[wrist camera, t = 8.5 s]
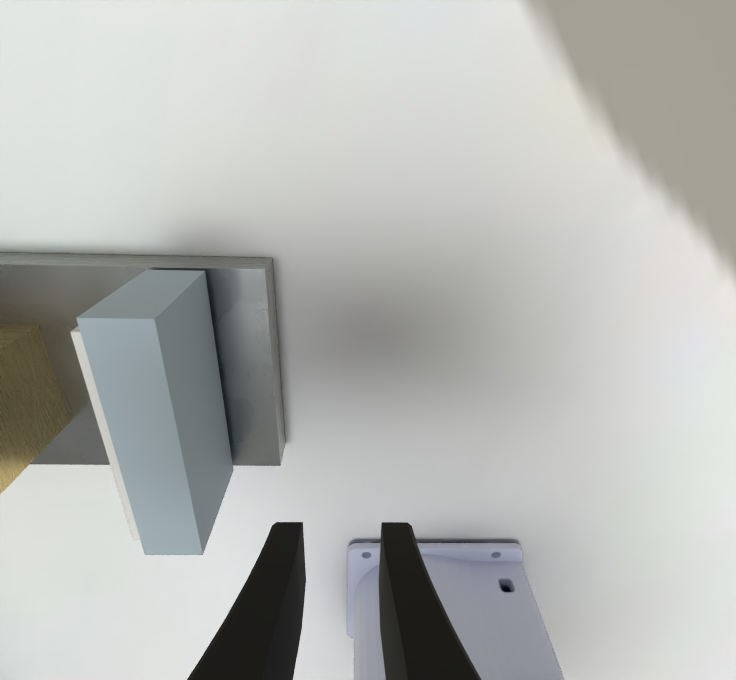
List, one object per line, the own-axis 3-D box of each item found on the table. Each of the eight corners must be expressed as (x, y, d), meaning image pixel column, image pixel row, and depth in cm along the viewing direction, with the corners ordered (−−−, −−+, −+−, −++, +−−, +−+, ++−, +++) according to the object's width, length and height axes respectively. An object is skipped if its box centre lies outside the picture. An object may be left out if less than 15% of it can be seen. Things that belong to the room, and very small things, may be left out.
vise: (272, 257, 17) (231, 320, 11) (285, 443, 21) (260, 554, 15) (-159, 249, 16) (-411, 310, 11) (-62, 441, 20) (-213, 554, 15)
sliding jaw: (204, 270, 15) (154, 318, 11) (233, 470, 19) (202, 555, 15) (134, 269, 15) (60, 317, 11) (177, 469, 19) (133, 554, 15)
